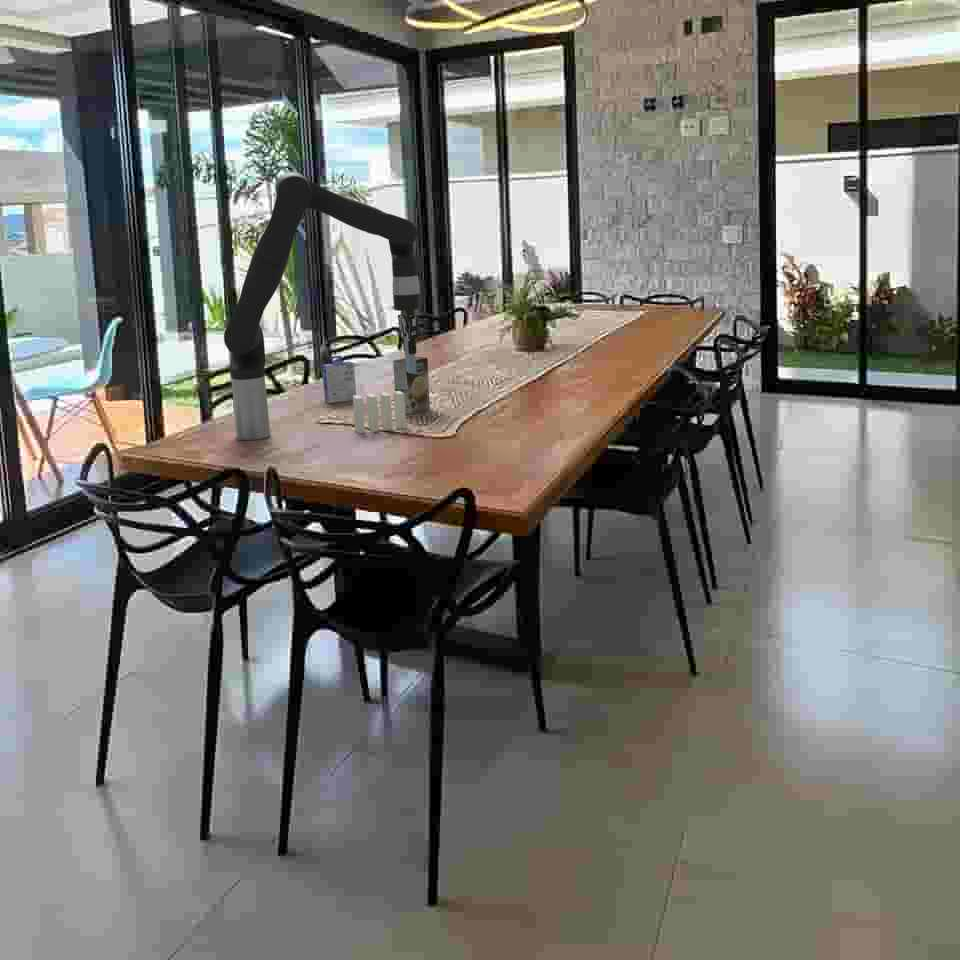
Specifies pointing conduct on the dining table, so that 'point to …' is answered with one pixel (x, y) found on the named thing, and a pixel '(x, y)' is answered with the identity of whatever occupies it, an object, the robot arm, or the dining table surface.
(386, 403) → the domino
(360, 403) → the domino
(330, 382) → the ink cartridge box
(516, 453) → the dining table surface
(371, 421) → the domino
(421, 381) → the coffee box
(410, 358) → the end domino
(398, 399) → the domino
